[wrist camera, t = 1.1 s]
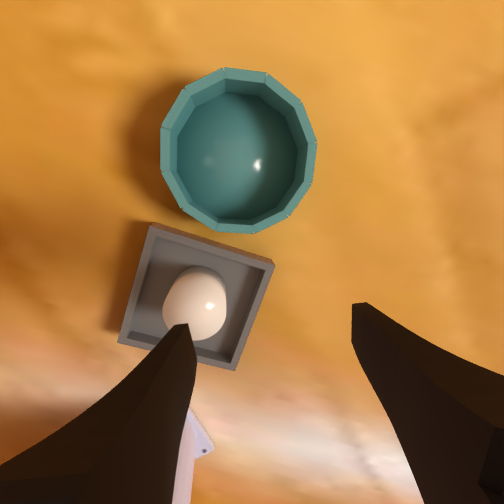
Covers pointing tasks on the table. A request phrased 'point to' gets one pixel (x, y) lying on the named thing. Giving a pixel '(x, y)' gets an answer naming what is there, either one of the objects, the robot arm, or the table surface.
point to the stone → (197, 302)
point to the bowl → (237, 151)
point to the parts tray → (163, 276)
